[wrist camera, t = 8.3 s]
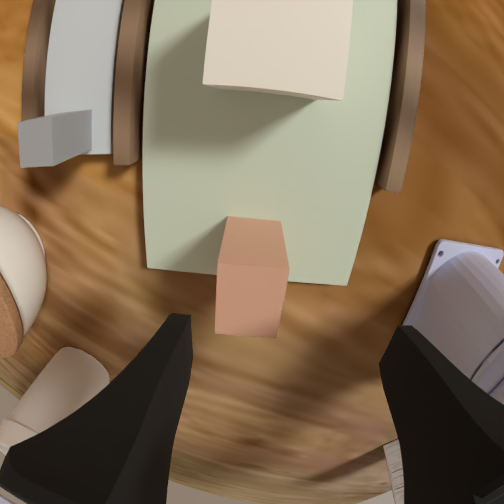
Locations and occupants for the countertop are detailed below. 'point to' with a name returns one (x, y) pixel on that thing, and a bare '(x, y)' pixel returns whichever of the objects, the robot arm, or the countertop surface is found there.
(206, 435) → the countertop surface
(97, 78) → the grey l-shaped bracket
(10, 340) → the lidded jar
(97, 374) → the foam cup
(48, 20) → the lane rails
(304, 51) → the cream cube
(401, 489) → the syrup box
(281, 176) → the green flat panel
